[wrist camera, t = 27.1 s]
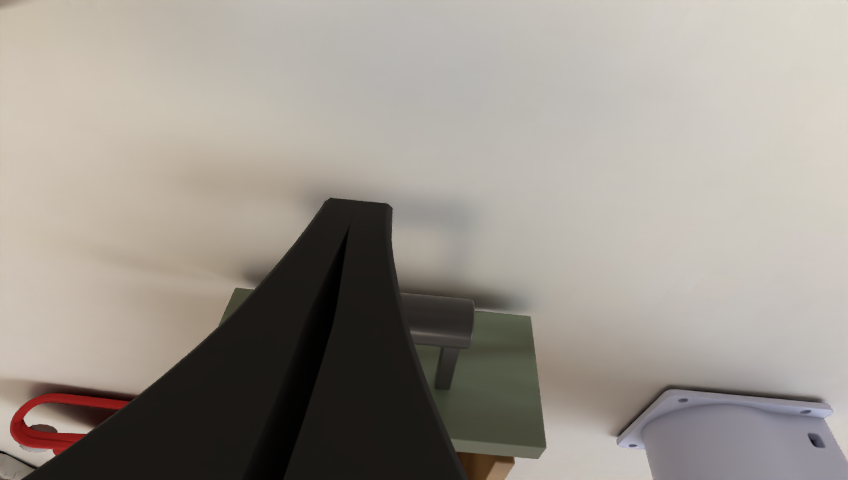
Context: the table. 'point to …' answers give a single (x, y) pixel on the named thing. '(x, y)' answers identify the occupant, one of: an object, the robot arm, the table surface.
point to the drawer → (474, 379)
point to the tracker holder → (47, 436)
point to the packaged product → (13, 468)
